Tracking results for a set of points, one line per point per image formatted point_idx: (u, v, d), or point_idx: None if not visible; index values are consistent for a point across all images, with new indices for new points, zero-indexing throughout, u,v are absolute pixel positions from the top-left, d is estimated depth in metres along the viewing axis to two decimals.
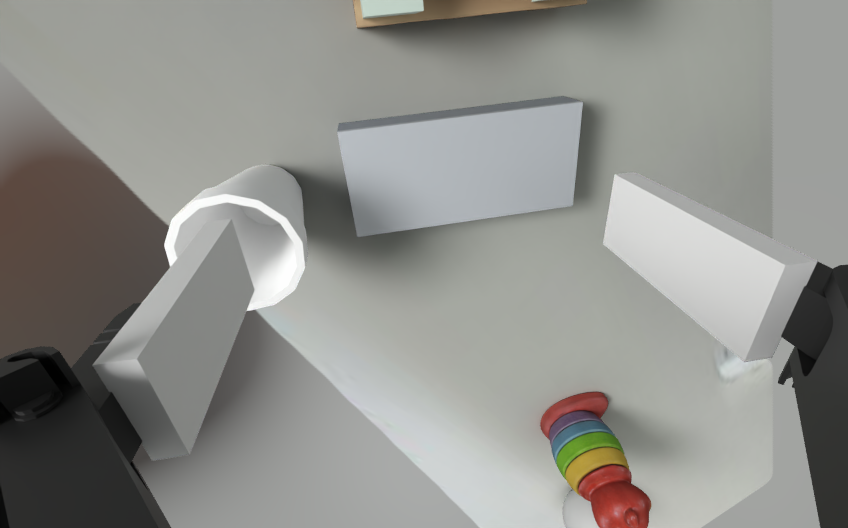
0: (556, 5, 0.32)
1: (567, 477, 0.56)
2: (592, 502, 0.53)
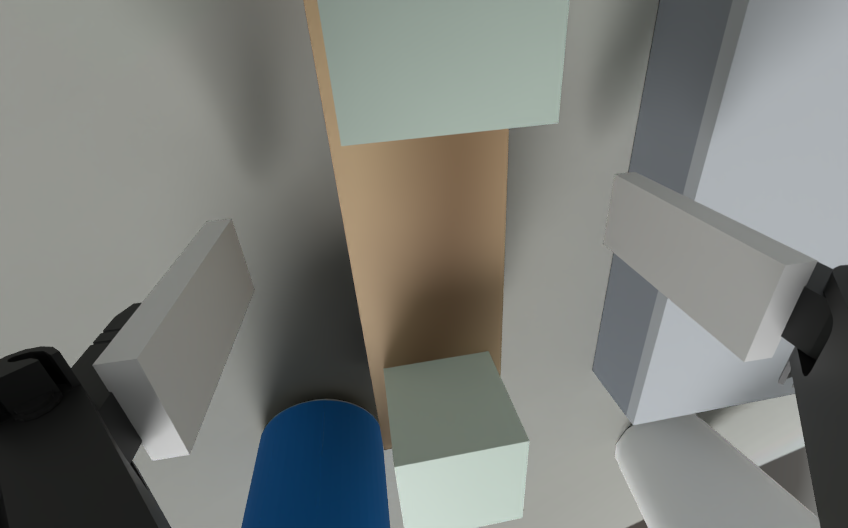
0: None
1: None
2: None
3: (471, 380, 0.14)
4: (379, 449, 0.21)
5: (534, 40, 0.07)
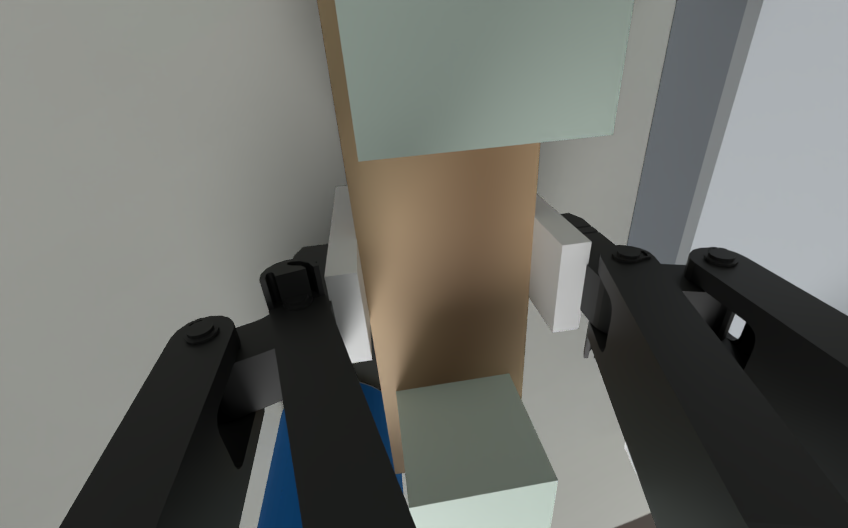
0: None
1: None
2: None
3: (491, 406, 0.13)
4: None
5: (591, 37, 0.06)
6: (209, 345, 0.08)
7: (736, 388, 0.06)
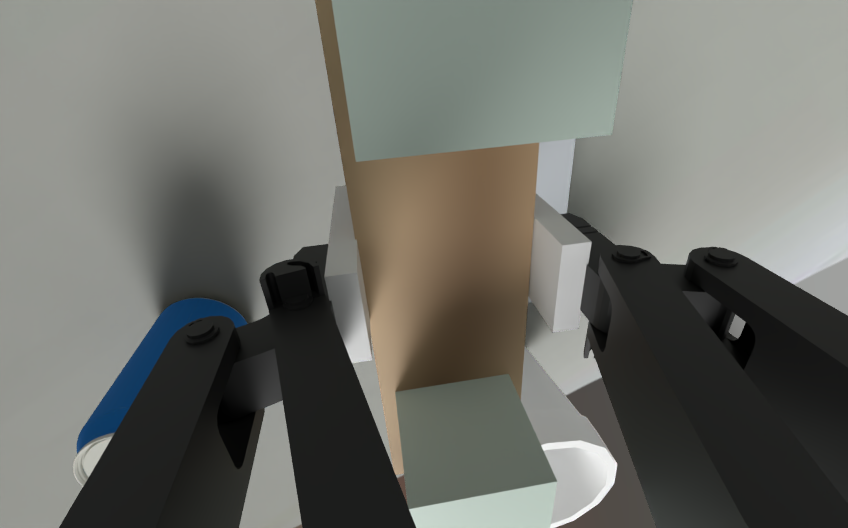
0: None
1: None
2: None
3: (490, 407, 0.13)
4: None
5: (589, 36, 0.06)
6: (209, 345, 0.08)
7: (735, 388, 0.06)
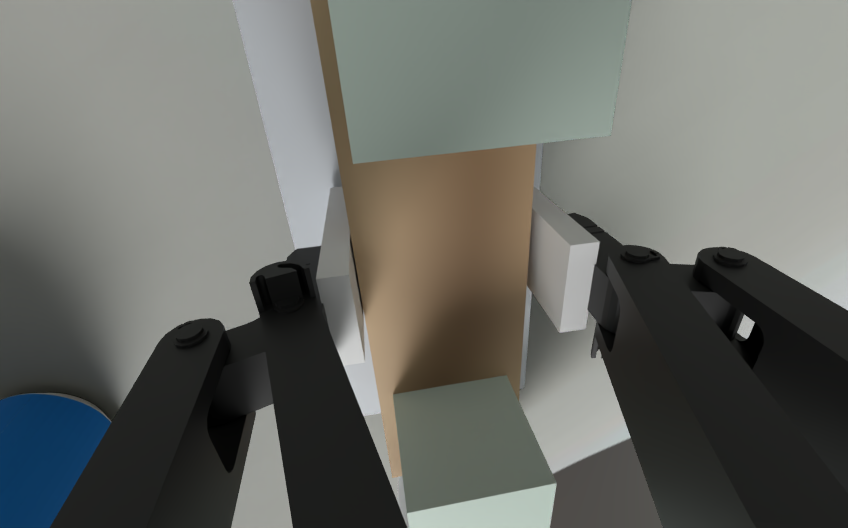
0: None
1: None
2: None
3: (488, 408, 0.13)
4: (86, 442, 0.21)
5: (588, 36, 0.06)
6: (198, 348, 0.08)
7: (744, 389, 0.06)
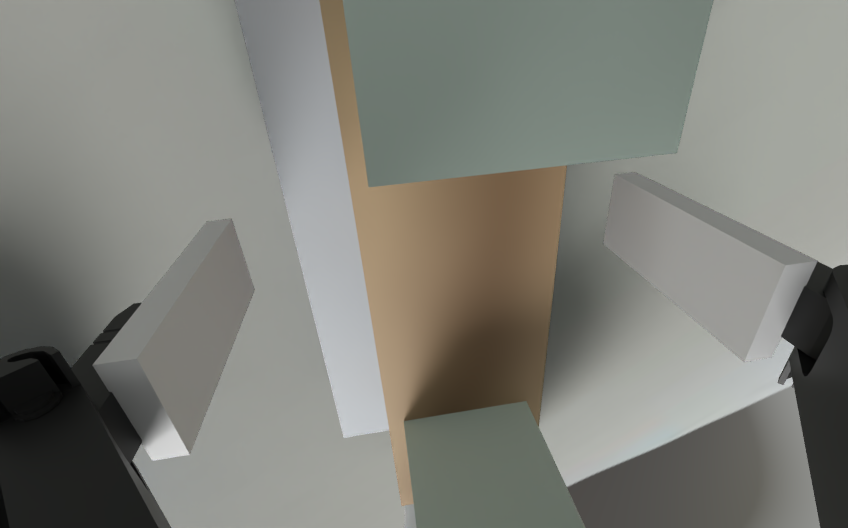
0: None
1: None
2: None
3: (508, 439, 0.12)
4: None
5: (660, 33, 0.05)
6: None
7: None
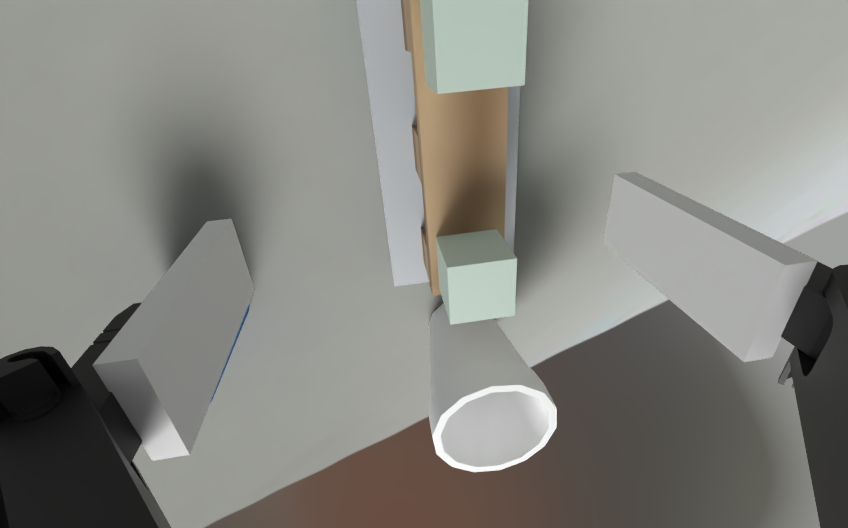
0: None
1: None
2: None
3: (486, 239, 0.25)
4: None
5: (513, 52, 0.18)
6: None
7: None
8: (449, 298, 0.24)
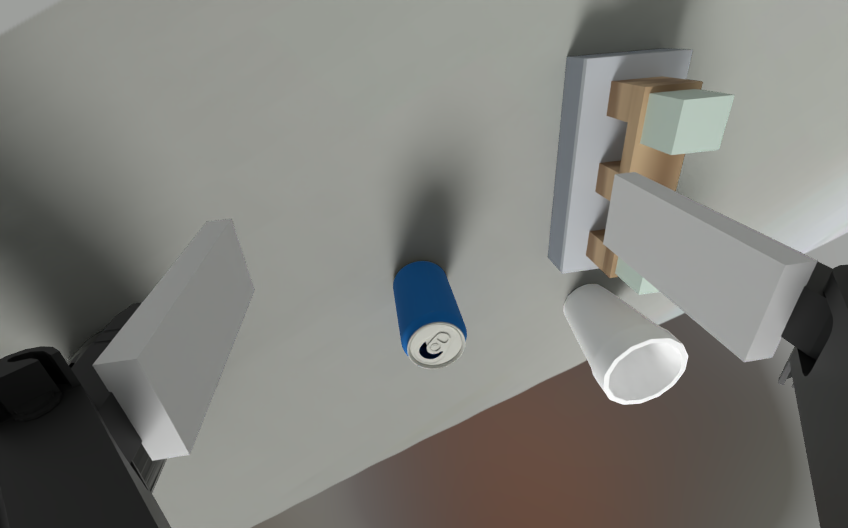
0: None
1: None
2: None
3: None
4: (448, 282, 0.47)
5: (717, 132, 0.31)
6: None
7: None
8: (642, 277, 0.37)
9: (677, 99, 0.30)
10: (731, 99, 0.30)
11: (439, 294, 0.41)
